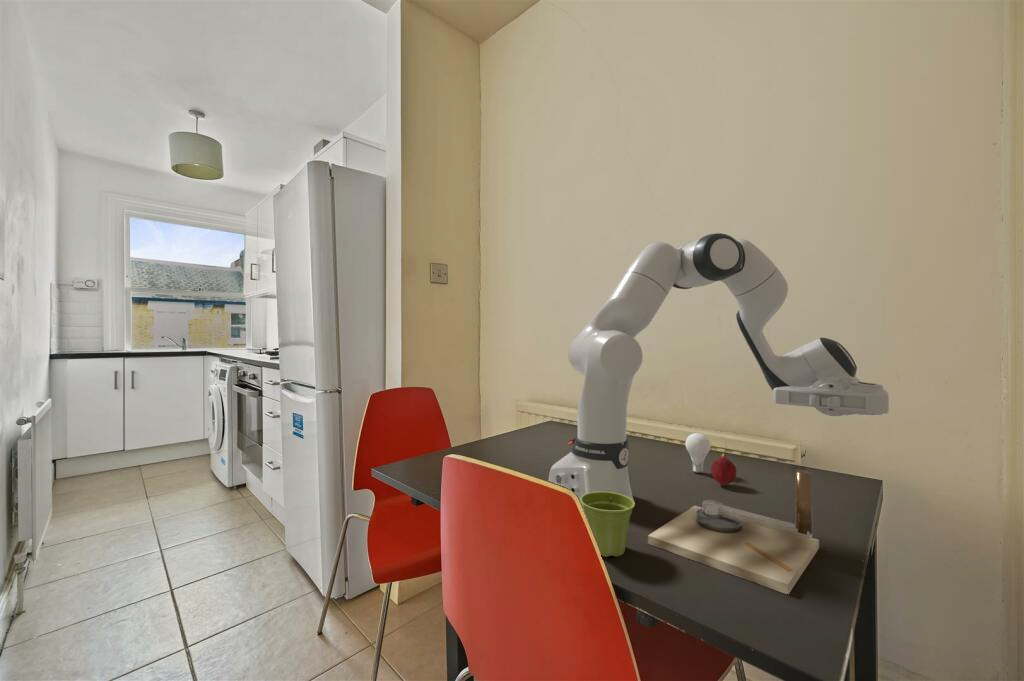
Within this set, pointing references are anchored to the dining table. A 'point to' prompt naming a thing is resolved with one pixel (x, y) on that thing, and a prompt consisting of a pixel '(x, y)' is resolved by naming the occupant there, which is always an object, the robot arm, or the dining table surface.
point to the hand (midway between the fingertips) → (820, 402)
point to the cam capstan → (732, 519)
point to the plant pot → (608, 520)
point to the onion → (723, 470)
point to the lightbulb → (697, 450)
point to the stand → (739, 550)
